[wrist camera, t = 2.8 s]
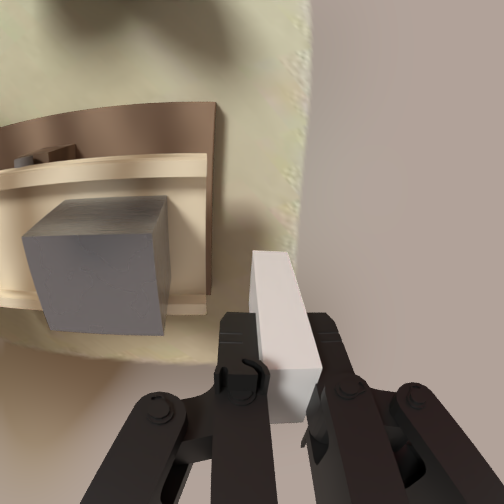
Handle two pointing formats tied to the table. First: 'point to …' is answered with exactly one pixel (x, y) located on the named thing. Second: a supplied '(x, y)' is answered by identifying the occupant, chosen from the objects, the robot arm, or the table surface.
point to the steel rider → (103, 265)
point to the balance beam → (108, 185)
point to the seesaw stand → (119, 139)
